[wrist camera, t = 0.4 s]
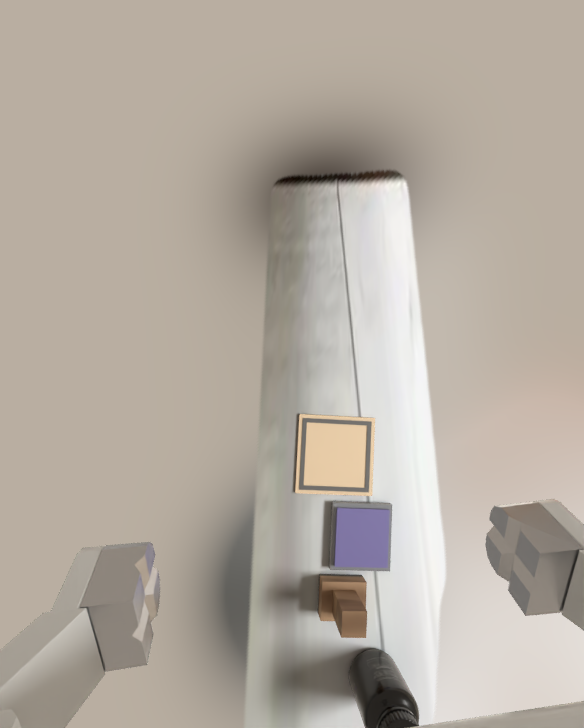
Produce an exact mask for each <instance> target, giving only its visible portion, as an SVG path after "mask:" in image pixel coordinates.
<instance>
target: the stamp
mask: <svg viewBox="0 0 584 728" xmlns="http://www.w3.org/2000/svg"><path fill="white" fill-rule="evenodd" d="M318 614H319V617H320V620H321V621H335V622H336V625H337V627H338V630H339V632H340V635H341V637H345V638H366V625H367V611H366V581H365V579H364V578H363V576H362V575H335V574H320V576H319V596H318Z"/></svg>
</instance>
